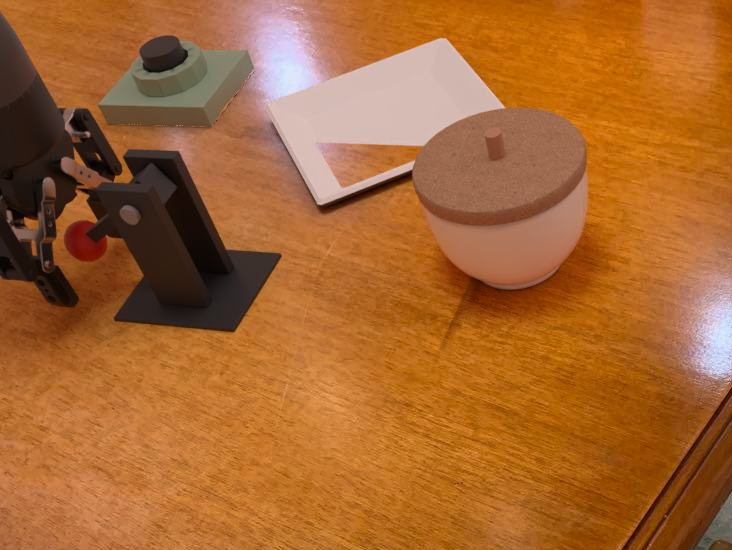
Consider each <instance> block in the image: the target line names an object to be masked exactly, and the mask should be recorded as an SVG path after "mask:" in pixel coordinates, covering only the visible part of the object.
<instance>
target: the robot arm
mask: <svg viewBox="0 0 732 550" xmlns="http://www.w3.org/2000/svg"><path fill="white" fill-rule="evenodd" d="M75 151H76V153H77V155H78V156H79V157H80V159H81V161H82V162H83V164H84V165H83V164H82V163H79V162H78V161H77V160H76V159H75V158H76V156H75ZM99 158H100V159H99ZM122 173H123V165H122V163H121V161H120V159H119V157H118V156H117V154H116V152H115V151H114V150H113V148H112V145H111V144H110V143H109V141H108V139H107V138H106V136H105V134H104V132H103V131H102V129H101V127H100V126H99V124H98V122H97V120H96V119H95V117H94V115H93V113H92V112H91V111H90V109H89V108H85V107H84V108H83V107H58V105H57V103H56V102H55V99H54V98H53V97H52V95H51V93H50V91H49V89H48V87H47V86H46V84H45V83H44V80H43V78H42V77H41V75H40V73H39V72H38V70H37V68H36V66H35V65H34V62H33V61H32V59H31V58H30V55H29V54H28V51H27V50H26V48H25V47H24V45H23V43H22V41H21V39H20V38H19V36H18V34H17V33H16V30H14V28H13V27H12V24H10V22H9V21H8V20H7V18H6V17H5V16H4V14H3V13H2V11H0V278H1V279H2V280H4V281H19V282H26V283H34V285H35V286H36V288H37V289H38V291H39V292H40V294H41V295H42V296H43V298H44V299H45V301H46V302H47V303H49V305H51V306H57V307H60V308H72V309H73V308H75V307H76V306H77V305H78V304H79V302H80V300H81V299H80V297H79V296H78V294H77V292H76V290H75V289H74V288H73V286H72V284H71V283H70V282H69V280H68V278H67V277H66V275H65V273H64V272H63V270H62V269H61V268H60V266H59V265H58V264H55V259H54V247H53V246H54V245H53V242H54V241H55V240H56V239H57V236H58V234H57V233H58V232H57V222H56V220H58V219H59V217H61V215H62V214H63V212H64V209H65V208H66V206H67V205H68V204H70V203H71V202H73V201H74V200H75V198H77V196H78V193H80V194H83V195H85V196H88V197H87V199H86V200H85V201H86V203H87V204H88V207H89V208H90V210H91V212H92V213H93V215H94V217H95V218H96V220H97V221H99V220H100V219H101V218H102V217H104V216H105V215H106V214H107V213H108V212H107V210H106V209H105V207H104V205H103V203H102V202H101V200H100V198H99V196H98V195H97V193H96V191H95V189H96V188H97V187H98V186H99V185H100V183H101V182H113V183H115V182H114V181H115V178H116V177H119V176H121V175H122ZM77 192H78V193H77ZM25 218H26V219H27V220H30V221H31V220H32V221H37V222H38V226H37V228H29V227H28V226H27V225H26V222H25ZM106 237H109V238H111V239H123V238H122V236H121V235H120V233H119V231H118V229H117V228H115V229H114V230H112V231H111V232H110V233H109V234H107V235H106ZM32 241H33V242H34V243H35V252H36V253H35V254H36V255H33V246H32Z"/></svg>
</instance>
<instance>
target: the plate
mask: <svg viewBox="0 0 732 550" xmlns="http://www.w3.org/2000/svg"><path fill="white" fill-rule="evenodd" d="M263 107H264V109H265V111H266V113H267V114H268V117H269V118H270V121H271V122H272V124H273V125H274V127H275V129H276V132H277V133H278V135H279V136H280V137H279V138H281V140H282V142H283V144H284V146H285V147H286V149H287V151H288V153H289V155H290V156H291V159H292V160H293V162H294V164H295V166H296V168H297V170H298V172H299V173H300V175H301V177H302V178H303V180H304V182H305V184H306V186H307V188H308V189H309V191H310V194H311V195H312V197H313V199H314V200H315V203H316V204H317V205H318V206H320V207H324V208H325V207H328V206H331V205H333V204H336V203H338V202H341V201H343V200H346V199H349V198H351V197H353V196H356V195H359V194H362V193H364V192H367V191H369V190H371V189H374V188H376V187H379V186H382V185H384V184H387V183H389V182H392V181H394V180H398V179H399V178H402V177H405V176H407V175H410V174H412V170H413V165H414V162H415V160H416V159H415V160H412V161H410V162H407V163H405V164H401V165H399V166H397V167H393V168H392V169H389V170H386V171H384V172H381V173H379V174H376V175H373V176H371V177H369V178H366V179H363V180H361V181H358V182H356V183H353V184H350V185H348V186H346V187H344V186H343V187H342V186H341V185H340V183H339V181H338V179H337V177H336V176H335V174H334V172H333V171H332V169H331V167H330V165H329V164H328V162H327V161H326V159H325V156H324V155H323V154H322V152H321V150H320V148H319V147H318V145H317V144H318V143H321V144H346V145H347V144H348V145H349V144H350V145H351V144H352V145H353V144H354V145H381V146H409V147H410V146H411V147H423V146H424V145H425V144H426V143H427V142H428V141H429V140H430V139H431V138H432V137H433V136H435V135H436V134H437V133H438V132H440V131H441V130H443V129H444V128H446V127H448V126H450V125H451V124H453V123H455V122H457V121H459V120H462V119H464V118H467V117H469V116H472V115H475V114H478V113H481V112H486V111H491V110H496V109H503V108H506V106H505V105H504V104H503V103H502V102H501V101H500V99H499V98H498V97H497V96H496V94H495V93H494V92H493V91H492V90H491V89H490V88H489V86H488V85H487V84H486V83H485V82H484V80H483V79H481V77H480V76H479V74H477V73H476V71H475V70H474V69H473V68H472V67H471V65H470V64H469V63H468V62H467V61H466V60H465V58H464V57H463V56H462V55H461V54H460V53H459V51H458V50H457V49H456V48H455V47H454V45H452V42H450V41H449V39H447V38H446V37H439V38H437V39H434V40H431V41H429V42H425V43H422V44H421V45H418V46H416V47H412V48H411V49H407V50H405V51H402V52H399V53H396V54H394V55H391V56H388V57H386V58H383V59H381V60H378V61H375V62H373V63H370V64H367V65H364V66H362V67H359V68H357V69H354V70H351V71H348V72H346V73H343V74H340V75H338V76H335V77H332V78H330V79H327V80H324V81H322V82H319V83H317V84H314V85H311V86H308V87H305V88H303V89H301V90H298V91H296V92H292V93H290V94H288V95H285V96H282V97H279V98H277V99H274V100H271V101H269V102H267V103H266V104H265V105H264V106H263ZM316 143H317V144H316Z"/></svg>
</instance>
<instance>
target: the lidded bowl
mask: <svg viewBox="0 0 732 550" xmlns="http://www.w3.org/2000/svg"><path fill="white" fill-rule="evenodd" d="M587 155H588V154H587V145H586V141H585V138H584V136H583V134H582V132H581V131H580V129H579V128H578V127H577V126H576V125H575V124H573V122H572V121H571V120H569V119H567V118H566V117H564V116H562V115H559V114H557V113H555V112H553V111H549V110H545V109H541V108H534V107H505V108H503V109H496V110H491V111H486V112H481V113H478V114H475V115H472V116H469V117H467V118H464V119H462V120H459V121H457V122H455V123H453V124H451V125H450V126H448V127H446V128H444V129H443V130H441V131H440V132H438V133H437V134H436V135H435V136H433V137H432V138H431V139H430V140H429V141H428V142H427V143H426V144H425V145H424V146H422V148H421V149H420V151H419V152H418V154H417V156H416V158H415V162H414V165H413V170H412V173H411V177H412V178H411V179H412V184H413V188H414V191H415V194H416V196H417V199H418V200H419V202H420V205H421V209H422V211H423V215H424V217H425V221H426V223H427V225H428V227H429V230H430V232H431V234H432V237H433V239H434V240H435V242H436V244H437V245H438V247H439V249H440V251H442V253H443V254H444V255H445V257H446V258H447V259H448V260H449V261H450V262H451V263H452V264H453V265H454V266H455V268H457V269H458V270H460V271H461V272H463V273H464V274H466V275H468V276H469V277H472V278H474V279H475V280H479V281H481V282H482V283H483V284H485V285H487V286H488V287H491V288H495V289H499V290H507V291H508V290H509V291H513V290H514V291H515V290H521V289H527V288H530V287H533V286H536V285H539V284H540V283H543V282H545V281H546V280H548V279H549V278H551V277H552V276H553V275H554V274H555V273H556V272H557V271H559V268H560V267H561V265H562V264H563V263H564V262H565V260H567V258H568V257H569V256H570V255H571V254H572V252H573V251H574V250H575V247H577V244H578V243H579V240H580V238H581V236H582V233H583V231H584V229H585V224H586V220H587V214H588V207H589V181H588V179H589V178H588V168H587V165H588V157H587Z"/></svg>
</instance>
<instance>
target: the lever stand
mask: <svg viewBox="0 0 732 550" xmlns="http://www.w3.org/2000/svg"><path fill="white" fill-rule="evenodd" d="M122 159H123V161H124V162H125V165H126V167H127V168H128V170H129V172H130V174H131V176H132V178H133V177H134V176H136V175H137V174H138V173H139V172H140V171H142V170H143V169H144V168H145V167H147V166H148V165H149V164H150V163H153V164H154V165H155V166H156V167H157V168H158V169H159V170H160V171H161V172H162V173H163V174H164V175H165V176H166V177H167V178H169V179H170V180H171V181H172V182H173V183H174V184H175V185H176V186H177V189H176V190H175V192H174V193H173V194H172V196H171V197H170V198H169V200H168V201H167V202H166V204H165V205H163V203H162V201H161V199H160V197H159V195H158V193H157V191H156V189H155V187H154V186H153V184H133V183H129V182H101V183H100V185H99V186H98V187H97V188H96V189H95V191H96V193H97V195H98V196H99V198H100V200H101V202H102V203H103V205H104V207H105V209H106V210H107V212H108V214H109V216H110V217H111V219H112V221H113V222H114V224H115V226H116V228H117V229H118V231H119V233H120V235H121V236H122V238H123V242H124V244H125V245H126V247H127V248H128V249H127V250H128V251H129V252H130V254H131V256H132V257H133V259H134V261H135V263H136V264H137V266H138V268H139V270H140V271H141V274H142V275H143V276H142V278H141V279H140V280H139V281H138V283H137V284H136V286H135V287H134V289H133V290H132V291H131V292H130V294H129V296H128V297H127V298H126V300H125V301H124V302H123V304H122V305H121V307H120V308H119V309H118V311H117V312H116V313H115V315H114V316H113V320H114V321H115V322H123V323H134V324H143V325H153V326H154V325H155V326H163V327H164V326H165V327H175V328H185V329H187V328H188V329H196V330H208V331H217V332H218V331H219V332H228V333H235V332H236V330H238V327H240V324H241V322H242V321H243V319H244V318H245V316H246V315H247V313H248V311H249V310H250V308H251V306H252V305H253V303H254V301H255V300H256V298H257V297H258V295H259V294H260V292H261V291H262V289H263V287H264V286H265V284H266V282H267V281H268V280H269V278H270V276H271V275H272V273H273V271H274V270H275V268H276V266H277V265H278V263H279V262H280V260H281V259H282V253H281V252H271V251H269V252H268V251H266V252H265V251H253V250H252V251H251V250H238V249H227V248H226V246H225V244H224V241H223V240H222V238H221V236H220V234H219V232H218V230H217V227H216V225H215V223H214V221H213V219H212V217H211V215H210V213H209V211H208V209H207V207H206V204H205V202H204V200H203V198H202V196H201V193H200V192H199V190H198V188H197V186H196V184H195V181H194V180H193V177H192V175H191V173H190V171H189V168H188V166H187V165H186V162H185V160H184V159H183V156H182V154H181V153H180V151H179V150H168V149H167V150H165V149H164V150H163V149H162V150H161V149H139V148H136V149H135V148H129V149H127V151H125V153H124V154H123V155H122Z"/></svg>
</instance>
